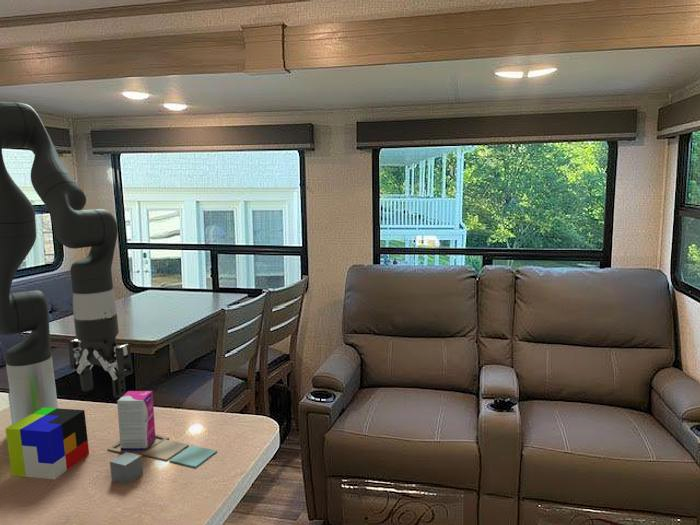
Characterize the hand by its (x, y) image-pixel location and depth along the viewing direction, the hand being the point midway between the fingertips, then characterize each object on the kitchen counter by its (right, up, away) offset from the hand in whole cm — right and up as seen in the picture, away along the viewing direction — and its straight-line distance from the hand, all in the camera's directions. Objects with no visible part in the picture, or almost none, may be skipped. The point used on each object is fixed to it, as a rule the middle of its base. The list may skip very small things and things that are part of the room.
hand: (103, 393), depth 105 cm
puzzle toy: (-13, -16, +6) cm, 22 cm away
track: (+9, -15, +10) cm, 20 cm away
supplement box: (+2, -15, +13) cm, 20 cm away
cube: (+5, -17, 0) cm, 17 cm away
